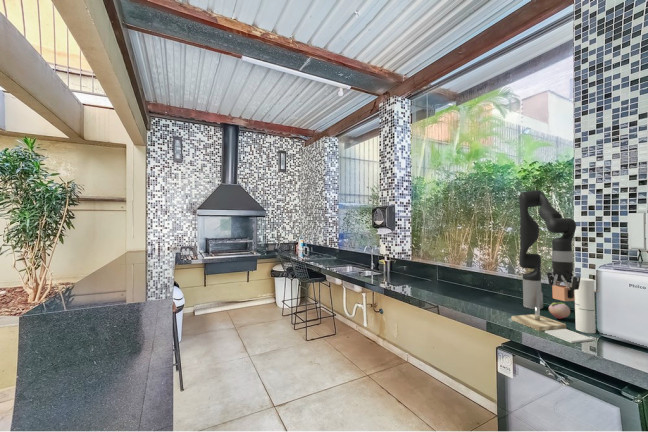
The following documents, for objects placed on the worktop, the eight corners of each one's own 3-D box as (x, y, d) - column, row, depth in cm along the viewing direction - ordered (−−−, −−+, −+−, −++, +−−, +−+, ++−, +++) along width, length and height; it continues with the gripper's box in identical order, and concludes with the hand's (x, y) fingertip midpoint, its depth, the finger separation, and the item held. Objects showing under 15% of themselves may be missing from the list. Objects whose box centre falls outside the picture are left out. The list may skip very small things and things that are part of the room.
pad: (565, 330, 137) (565, 328, 137) (593, 340, 125) (593, 338, 125) (545, 332, 134) (544, 330, 134) (571, 343, 123) (571, 341, 123)
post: (537, 319, 147) (537, 306, 147) (541, 320, 145) (540, 308, 145) (534, 319, 146) (533, 307, 146) (537, 320, 144) (537, 308, 144)
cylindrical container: (585, 327, 140) (583, 277, 141) (600, 333, 133) (598, 280, 133) (571, 327, 140) (570, 277, 140) (585, 333, 133) (583, 280, 133)
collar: (562, 297, 134) (562, 285, 134) (574, 300, 129) (574, 287, 129) (552, 298, 133) (552, 285, 133) (564, 301, 128) (564, 288, 128)
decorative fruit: (562, 323, 146) (561, 303, 147) (546, 317, 154) (545, 299, 155) (574, 321, 149) (574, 302, 149) (558, 316, 157) (557, 298, 157)
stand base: (536, 317, 155) (536, 314, 155) (566, 328, 139) (566, 324, 139) (511, 319, 152) (511, 316, 152) (539, 331, 136) (539, 326, 136)
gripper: (585, 262, 125) (586, 300, 124) (554, 258, 139) (555, 292, 139) (571, 262, 124) (573, 301, 123) (541, 258, 138) (542, 293, 137)
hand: (563, 296), depth 131 cm, fingers closed on collar, 5 cm apart
